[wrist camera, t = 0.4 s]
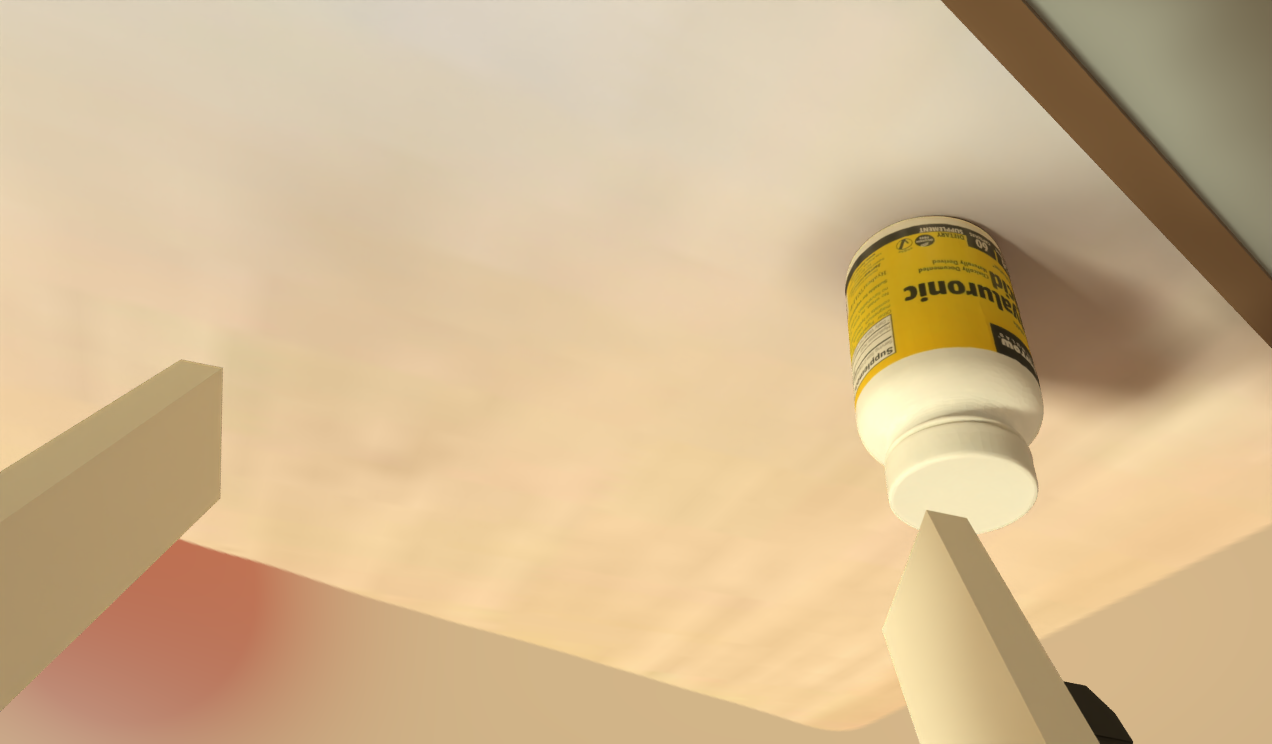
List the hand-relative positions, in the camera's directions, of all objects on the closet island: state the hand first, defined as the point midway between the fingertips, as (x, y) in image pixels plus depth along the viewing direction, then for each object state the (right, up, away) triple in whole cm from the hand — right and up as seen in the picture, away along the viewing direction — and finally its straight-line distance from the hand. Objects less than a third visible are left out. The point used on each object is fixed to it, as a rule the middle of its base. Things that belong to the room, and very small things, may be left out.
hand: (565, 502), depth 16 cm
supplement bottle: (+12, +6, +15) cm, 20 cm away
